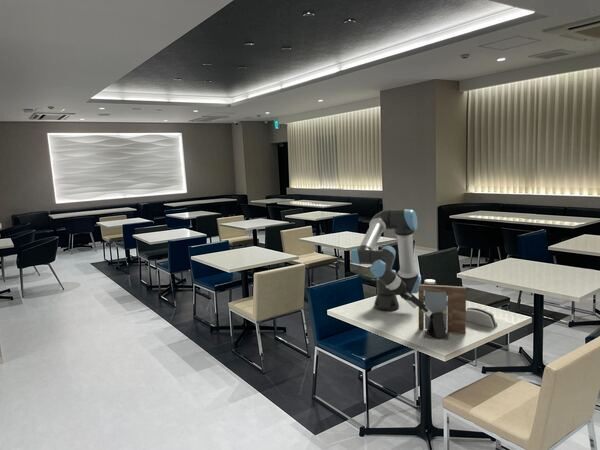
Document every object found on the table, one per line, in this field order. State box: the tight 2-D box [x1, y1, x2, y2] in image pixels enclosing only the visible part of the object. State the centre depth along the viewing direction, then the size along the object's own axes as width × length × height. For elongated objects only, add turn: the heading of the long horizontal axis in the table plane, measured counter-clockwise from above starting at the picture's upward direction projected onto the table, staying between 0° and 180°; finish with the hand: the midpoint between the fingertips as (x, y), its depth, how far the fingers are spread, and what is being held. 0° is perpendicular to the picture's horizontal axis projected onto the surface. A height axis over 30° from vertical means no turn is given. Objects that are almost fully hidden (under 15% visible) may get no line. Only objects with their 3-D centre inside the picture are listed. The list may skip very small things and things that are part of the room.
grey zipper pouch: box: [466, 306, 498, 329], centre depth 244 cm, size 17×5×10 cm, turn 38°
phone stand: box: [426, 312, 447, 340], centre depth 228 cm, size 9×6×12 cm, turn 21°
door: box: [424, 290, 447, 332], centre depth 234 cm, size 11×3×21 cm, turn 70°
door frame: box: [418, 283, 467, 335], centre depth 234 cm, size 2×24×24 cm, turn 70°
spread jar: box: [423, 278, 437, 299], centre depth 292 cm, size 12×11×12 cm
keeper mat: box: [423, 330, 450, 341], centre depth 229 cm, size 9×12×1 cm
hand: (422, 310), depth 225 cm, fingers open, 13 cm apart
